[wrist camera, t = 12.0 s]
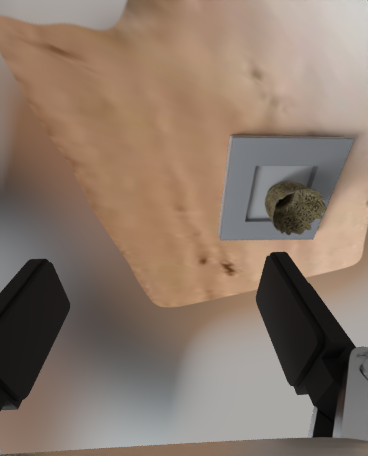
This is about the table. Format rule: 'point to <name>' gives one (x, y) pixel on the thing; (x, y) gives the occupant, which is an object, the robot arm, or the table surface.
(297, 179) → the display stand
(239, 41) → the table surface
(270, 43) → the table surface
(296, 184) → the cup
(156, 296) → the table surface
